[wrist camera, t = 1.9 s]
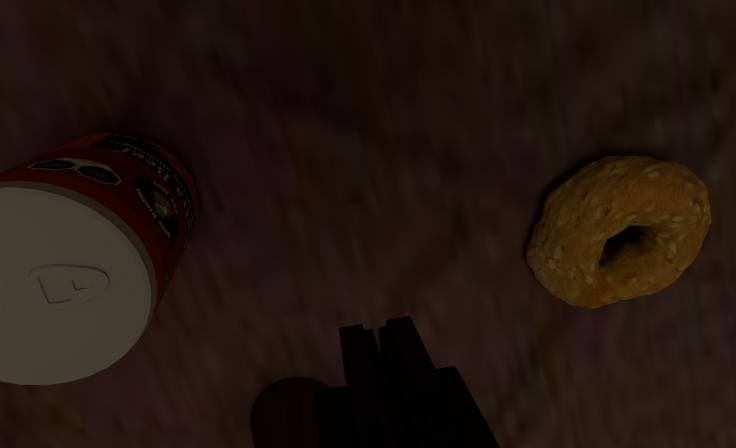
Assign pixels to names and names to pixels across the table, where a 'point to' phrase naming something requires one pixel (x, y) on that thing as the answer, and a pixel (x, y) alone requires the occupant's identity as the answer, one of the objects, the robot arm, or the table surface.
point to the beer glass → (286, 415)
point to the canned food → (87, 253)
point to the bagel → (619, 230)
